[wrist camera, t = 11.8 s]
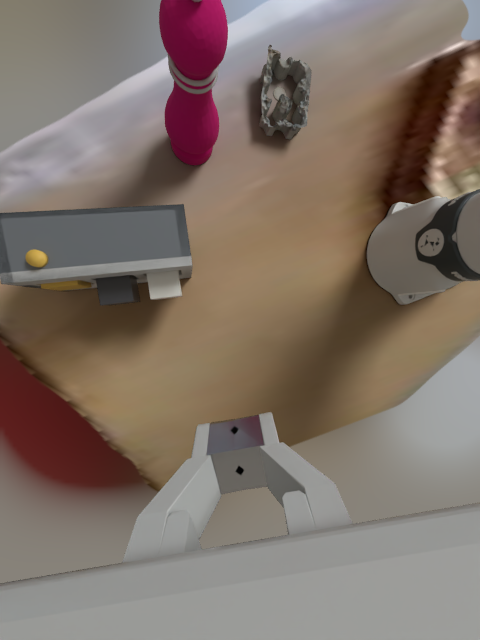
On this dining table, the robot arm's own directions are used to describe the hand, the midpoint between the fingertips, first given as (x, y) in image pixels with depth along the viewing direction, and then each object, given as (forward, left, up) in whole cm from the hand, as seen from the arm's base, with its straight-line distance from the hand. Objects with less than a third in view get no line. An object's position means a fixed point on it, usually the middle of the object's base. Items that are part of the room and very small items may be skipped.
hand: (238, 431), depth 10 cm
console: (+9, -13, -30) cm, 34 cm away
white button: (+4, -9, -25) cm, 27 cm away
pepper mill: (-3, -30, -30) cm, 43 cm away
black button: (+9, -9, -25) cm, 28 cm away
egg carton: (-18, -36, -31) cm, 50 cm away
